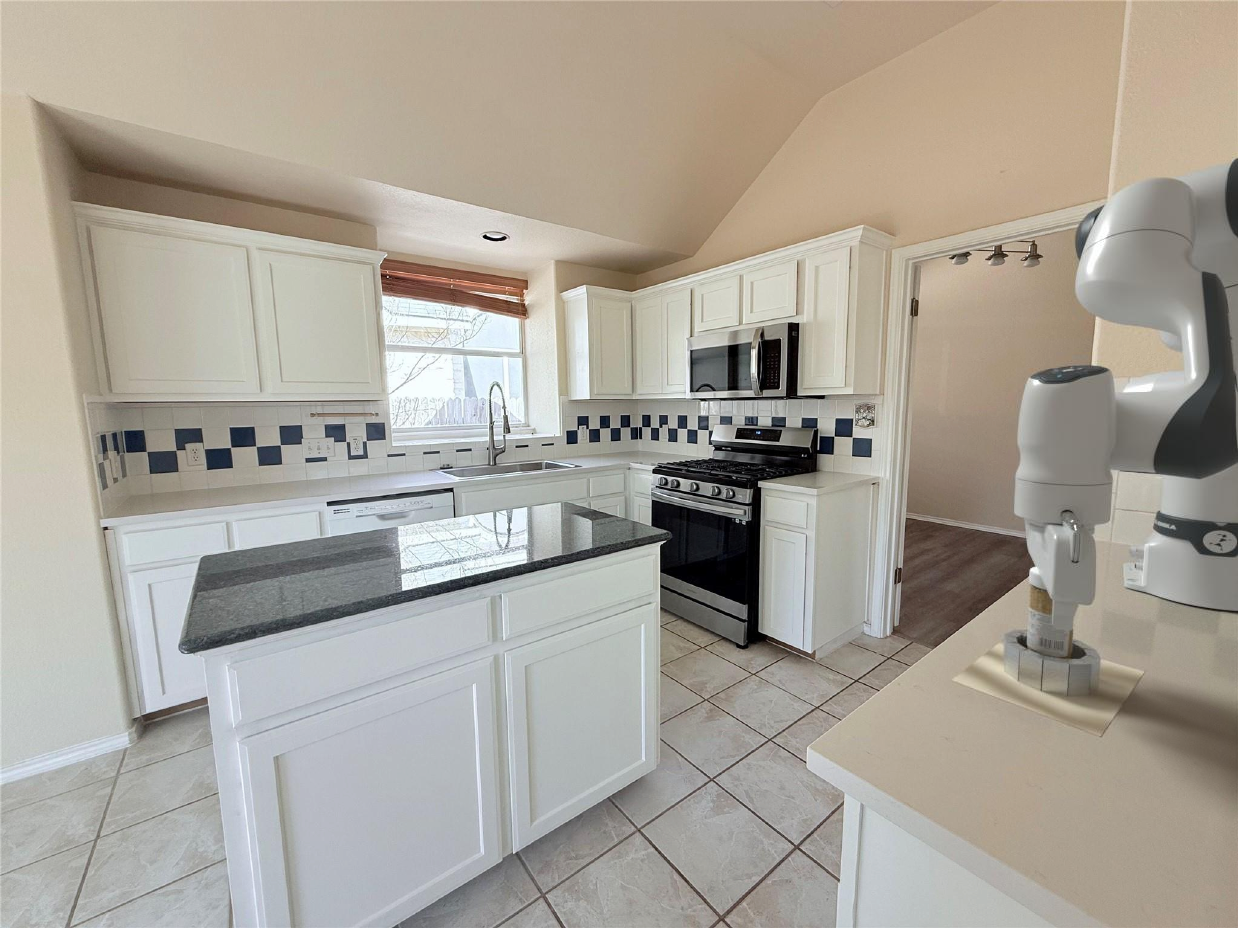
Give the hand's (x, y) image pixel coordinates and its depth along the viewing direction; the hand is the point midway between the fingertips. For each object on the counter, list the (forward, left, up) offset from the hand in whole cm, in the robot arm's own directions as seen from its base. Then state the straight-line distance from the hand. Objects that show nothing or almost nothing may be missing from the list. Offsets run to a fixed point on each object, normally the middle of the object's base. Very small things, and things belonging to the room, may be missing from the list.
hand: (1054, 612), depth 63 cm
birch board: (0, 0, -10) cm, 10 cm away
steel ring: (0, 0, -8) cm, 8 cm away
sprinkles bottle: (-1, 0, -9) cm, 9 cm away
